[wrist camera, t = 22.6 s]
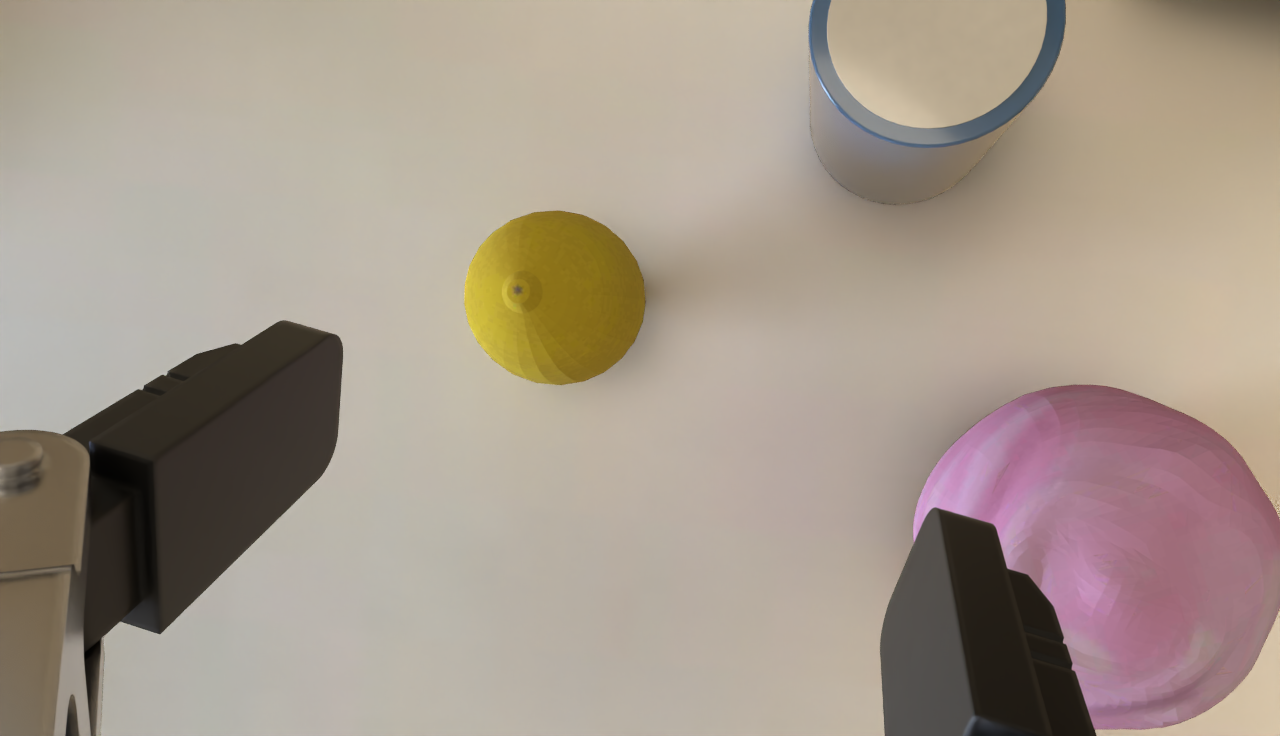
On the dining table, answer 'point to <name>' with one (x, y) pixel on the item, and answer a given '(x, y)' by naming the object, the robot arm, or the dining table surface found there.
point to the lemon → (554, 297)
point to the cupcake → (1126, 543)
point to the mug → (922, 86)
